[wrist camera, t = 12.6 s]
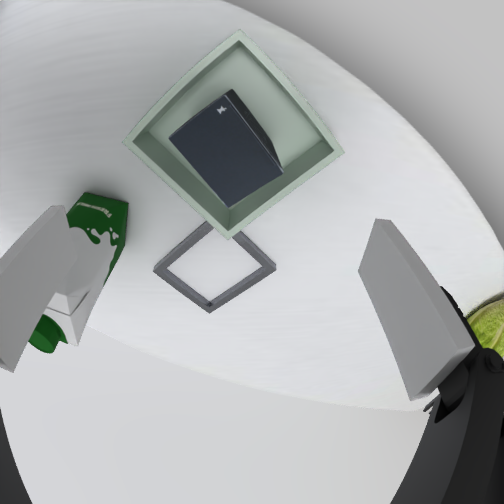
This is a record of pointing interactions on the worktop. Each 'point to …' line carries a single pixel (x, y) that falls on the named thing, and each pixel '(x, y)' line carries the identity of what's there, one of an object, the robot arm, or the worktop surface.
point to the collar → (229, 294)
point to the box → (228, 149)
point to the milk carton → (83, 270)
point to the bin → (265, 112)
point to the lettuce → (489, 326)
